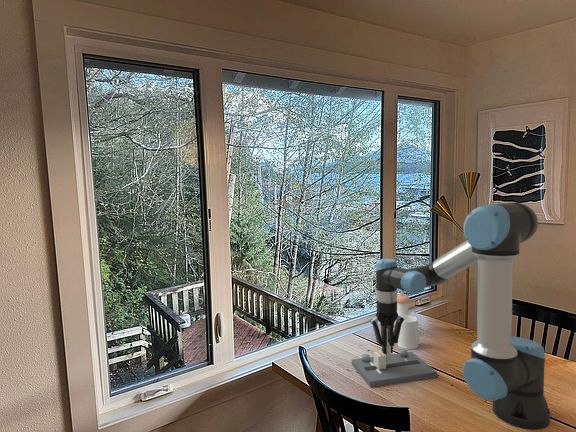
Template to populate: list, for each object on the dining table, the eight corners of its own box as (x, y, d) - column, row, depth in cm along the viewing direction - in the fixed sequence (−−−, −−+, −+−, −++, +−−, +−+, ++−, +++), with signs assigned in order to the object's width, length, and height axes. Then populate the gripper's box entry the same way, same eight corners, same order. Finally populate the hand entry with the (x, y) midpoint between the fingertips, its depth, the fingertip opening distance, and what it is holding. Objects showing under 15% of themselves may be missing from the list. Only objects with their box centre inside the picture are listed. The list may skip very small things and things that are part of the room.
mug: (428, 345, 173) (428, 318, 172) (422, 352, 166) (422, 324, 165) (402, 339, 180) (401, 314, 179) (394, 346, 173) (394, 319, 172)
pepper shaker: (400, 329, 192) (399, 290, 190) (413, 333, 186) (413, 293, 185) (391, 333, 187) (390, 293, 186) (404, 337, 182) (404, 296, 180)
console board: (437, 377, 145) (436, 366, 145) (370, 387, 140) (370, 376, 140) (411, 356, 163) (411, 346, 163) (351, 364, 158) (351, 354, 157)
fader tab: (386, 368, 148) (385, 355, 148) (378, 369, 148) (378, 356, 147) (381, 363, 153) (380, 350, 152) (373, 364, 152) (373, 351, 152)
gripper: (398, 296, 154) (398, 355, 156) (366, 299, 151) (367, 359, 153) (407, 301, 146) (408, 363, 148) (374, 305, 144) (375, 368, 146)
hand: (387, 361), depth 151 cm, fingers closed
